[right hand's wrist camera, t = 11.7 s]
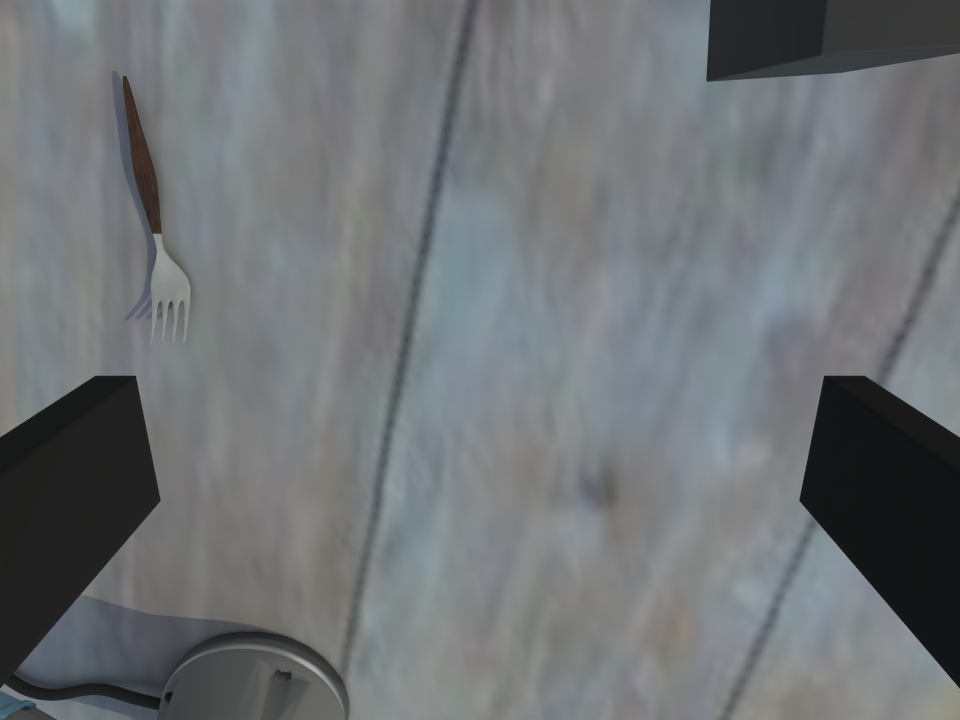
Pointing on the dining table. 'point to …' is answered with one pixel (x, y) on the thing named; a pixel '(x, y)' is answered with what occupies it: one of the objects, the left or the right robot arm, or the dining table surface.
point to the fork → (155, 228)
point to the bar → (825, 35)
